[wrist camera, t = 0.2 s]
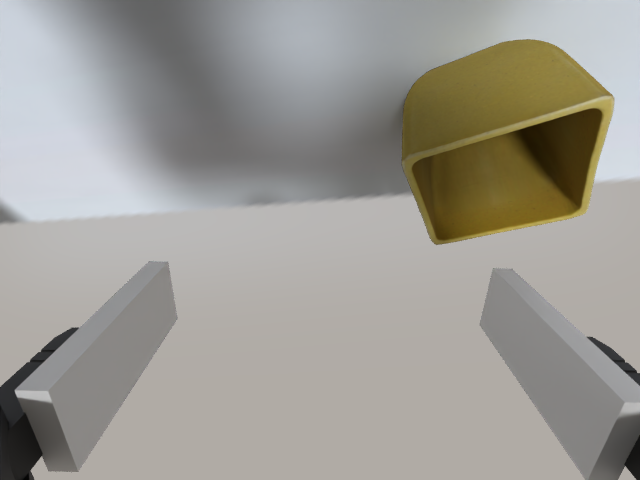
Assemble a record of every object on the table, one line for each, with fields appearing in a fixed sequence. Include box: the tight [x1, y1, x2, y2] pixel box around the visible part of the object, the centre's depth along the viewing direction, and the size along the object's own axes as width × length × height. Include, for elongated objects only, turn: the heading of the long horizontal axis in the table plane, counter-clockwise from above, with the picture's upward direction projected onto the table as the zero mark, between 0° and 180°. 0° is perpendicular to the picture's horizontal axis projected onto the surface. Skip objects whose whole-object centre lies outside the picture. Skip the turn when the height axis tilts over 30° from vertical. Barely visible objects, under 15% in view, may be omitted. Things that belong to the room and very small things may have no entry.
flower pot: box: [402, 39, 614, 245], centre depth 21 cm, size 9×9×9 cm
